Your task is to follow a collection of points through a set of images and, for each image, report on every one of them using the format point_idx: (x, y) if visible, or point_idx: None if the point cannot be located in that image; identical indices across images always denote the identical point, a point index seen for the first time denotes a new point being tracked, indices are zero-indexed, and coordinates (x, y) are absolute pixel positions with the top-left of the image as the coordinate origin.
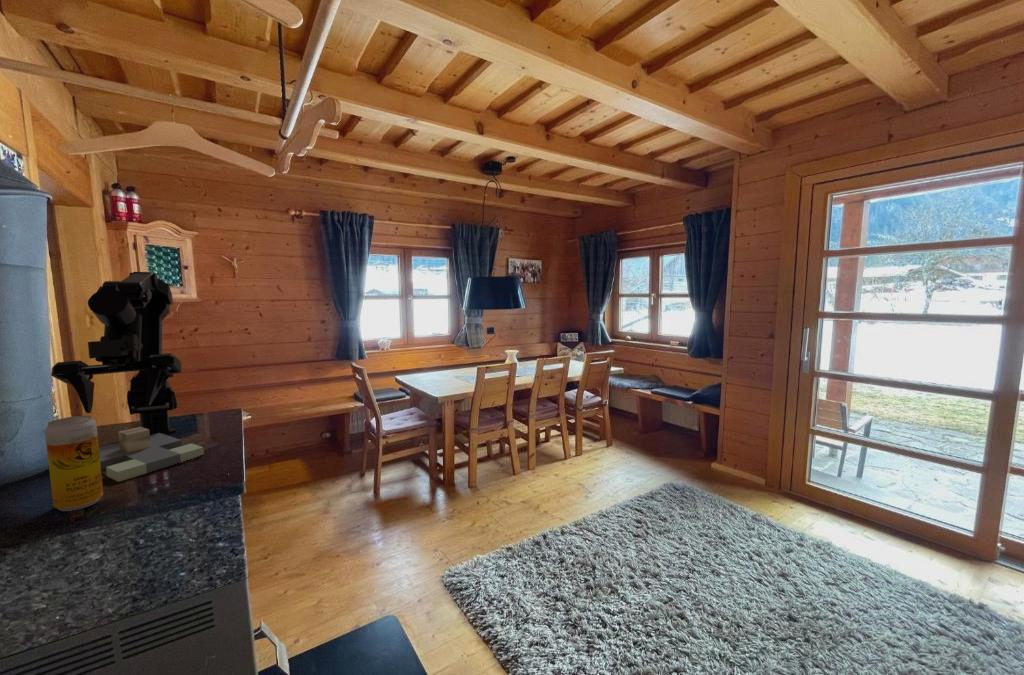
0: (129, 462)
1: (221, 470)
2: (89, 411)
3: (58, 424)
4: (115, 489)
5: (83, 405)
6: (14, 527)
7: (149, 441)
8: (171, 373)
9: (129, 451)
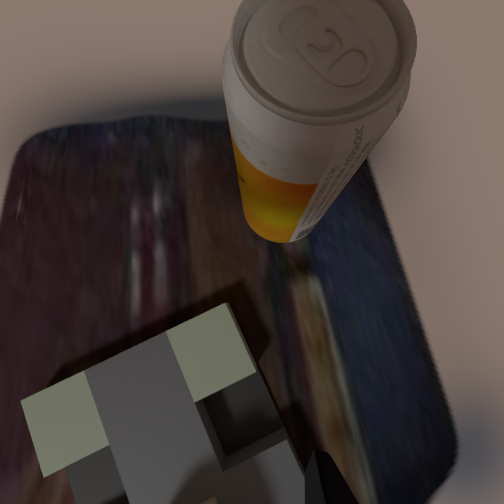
0: (204, 375)
1: (28, 238)
2: (309, 465)
3: (361, 8)
4: (229, 253)
5: (354, 499)
6: None
7: None
8: None
9: (211, 499)
